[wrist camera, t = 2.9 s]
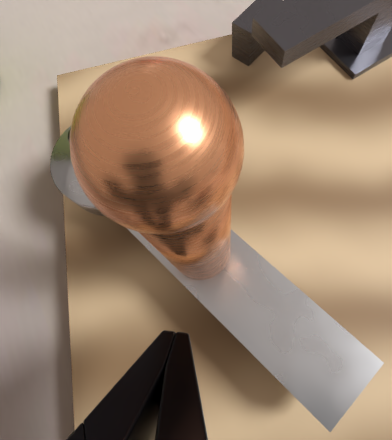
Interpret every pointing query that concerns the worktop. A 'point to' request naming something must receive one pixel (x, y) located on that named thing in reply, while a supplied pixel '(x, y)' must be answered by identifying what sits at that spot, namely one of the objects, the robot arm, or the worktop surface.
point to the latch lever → (202, 219)
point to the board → (254, 244)
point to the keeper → (316, 32)
